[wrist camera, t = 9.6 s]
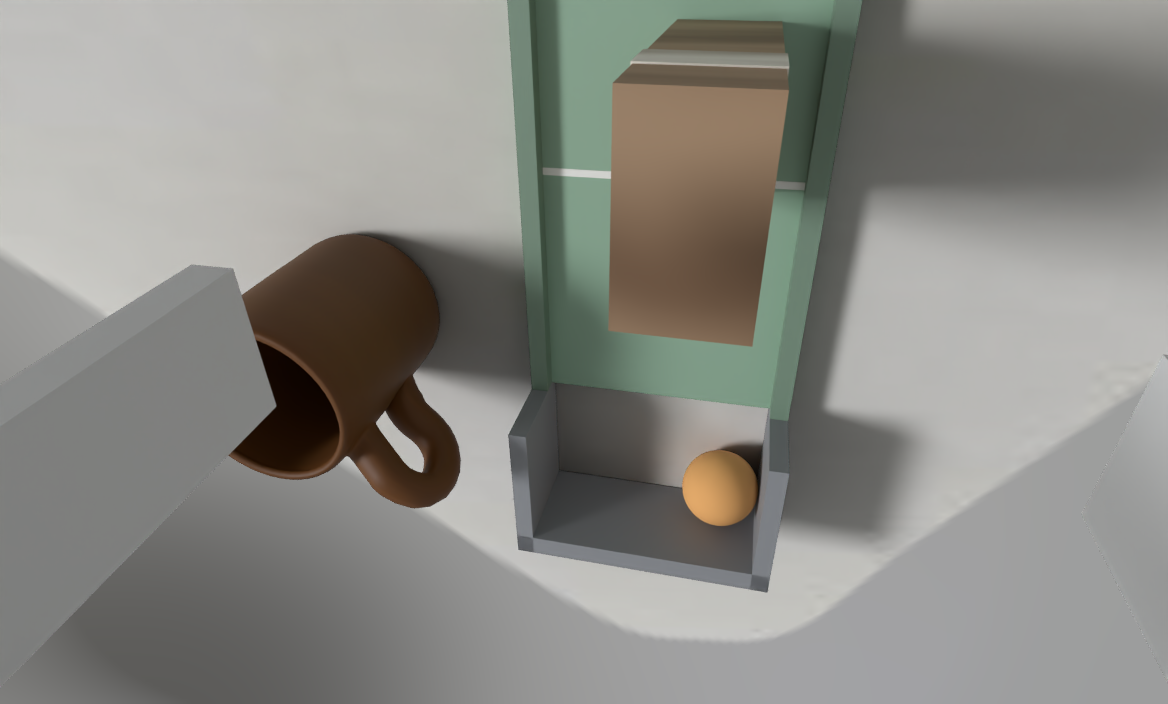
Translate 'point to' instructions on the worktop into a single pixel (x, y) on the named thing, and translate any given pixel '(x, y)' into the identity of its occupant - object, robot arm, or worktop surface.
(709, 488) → the ball
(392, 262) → the mug
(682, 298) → the block
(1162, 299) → the worktop surface
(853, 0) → the pitch
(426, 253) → the worktop surface
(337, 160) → the worktop surface
